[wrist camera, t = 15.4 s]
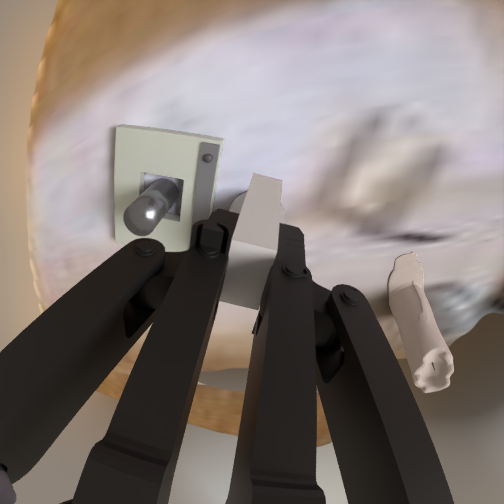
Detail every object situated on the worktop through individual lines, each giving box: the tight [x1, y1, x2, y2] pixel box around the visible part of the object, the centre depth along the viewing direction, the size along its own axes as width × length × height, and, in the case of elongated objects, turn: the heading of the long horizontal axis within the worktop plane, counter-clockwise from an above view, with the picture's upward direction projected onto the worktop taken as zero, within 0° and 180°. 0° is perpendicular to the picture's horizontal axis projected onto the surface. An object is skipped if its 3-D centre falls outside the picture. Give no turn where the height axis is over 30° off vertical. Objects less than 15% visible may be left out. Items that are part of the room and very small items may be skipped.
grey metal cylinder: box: [123, 178, 179, 236], centre depth 42 cm, size 5×5×10 cm
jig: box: [114, 125, 224, 252], centre depth 45 cm, size 20×16×3 cm
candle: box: [388, 252, 454, 393], centre depth 42 cm, size 7×14×20 cm, turn 18°
